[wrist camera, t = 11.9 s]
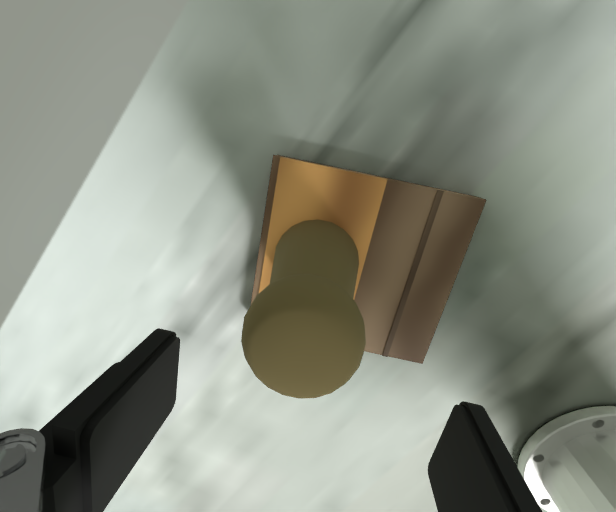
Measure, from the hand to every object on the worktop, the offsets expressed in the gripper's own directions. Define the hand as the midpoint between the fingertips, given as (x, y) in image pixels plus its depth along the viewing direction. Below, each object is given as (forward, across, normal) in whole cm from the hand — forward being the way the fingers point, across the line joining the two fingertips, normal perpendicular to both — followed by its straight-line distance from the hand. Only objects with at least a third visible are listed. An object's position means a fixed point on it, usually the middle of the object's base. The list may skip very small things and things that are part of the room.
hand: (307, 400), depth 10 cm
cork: (+13, +1, -1) cm, 13 cm away
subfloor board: (+14, -2, 0) cm, 14 cm away
